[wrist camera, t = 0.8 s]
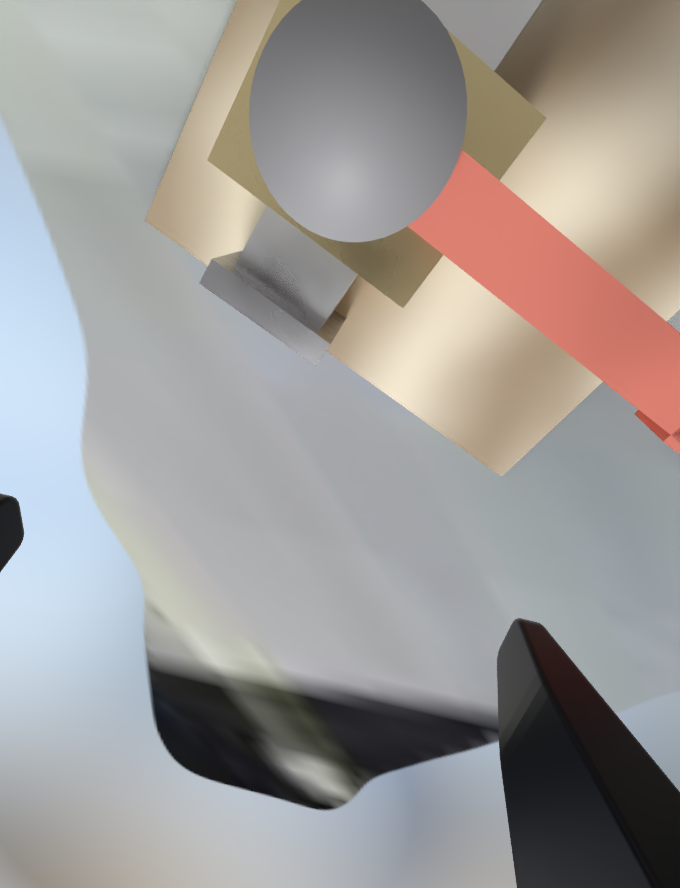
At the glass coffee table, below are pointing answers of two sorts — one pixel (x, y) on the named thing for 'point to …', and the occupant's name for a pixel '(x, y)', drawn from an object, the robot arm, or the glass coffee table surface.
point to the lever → (437, 184)
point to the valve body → (382, 260)
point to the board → (530, 177)
